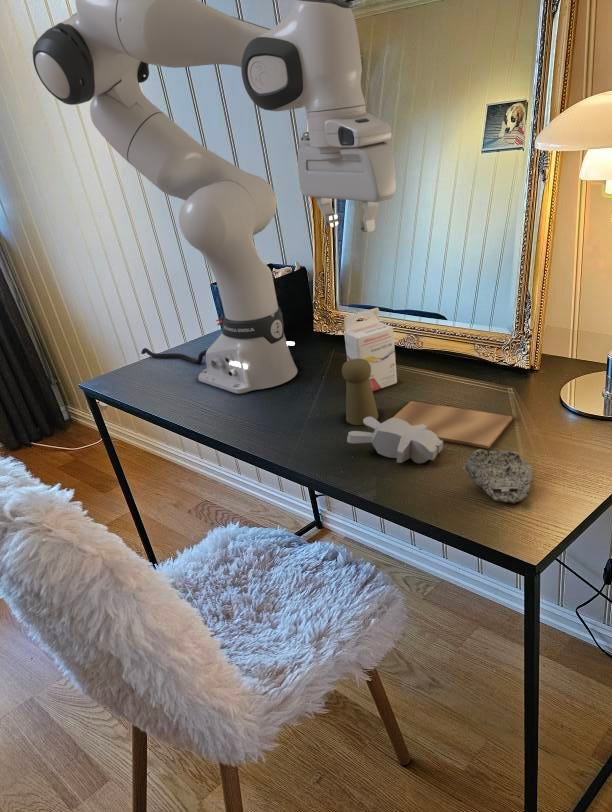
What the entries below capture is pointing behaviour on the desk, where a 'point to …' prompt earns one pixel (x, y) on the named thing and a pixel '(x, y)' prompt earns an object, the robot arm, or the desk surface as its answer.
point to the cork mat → (456, 423)
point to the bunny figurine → (399, 440)
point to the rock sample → (500, 474)
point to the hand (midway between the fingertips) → (349, 228)
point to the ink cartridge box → (372, 346)
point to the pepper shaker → (358, 391)
